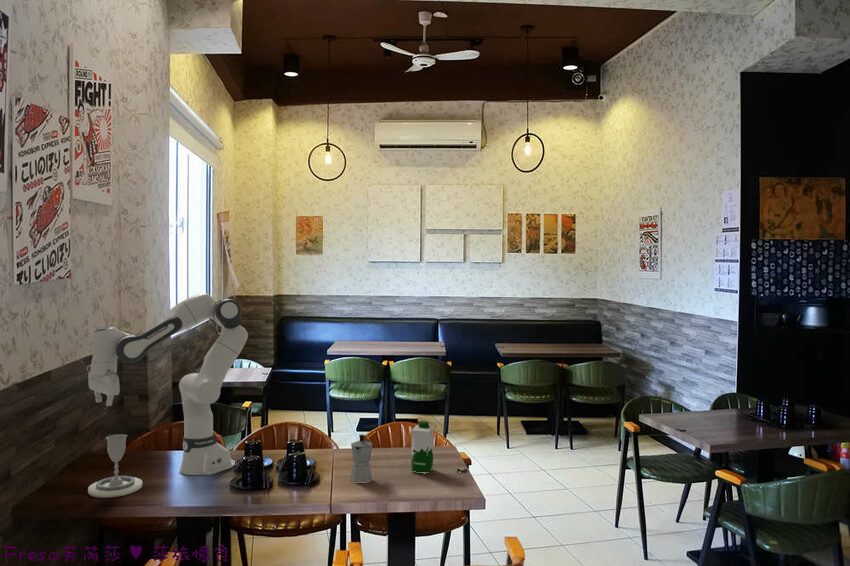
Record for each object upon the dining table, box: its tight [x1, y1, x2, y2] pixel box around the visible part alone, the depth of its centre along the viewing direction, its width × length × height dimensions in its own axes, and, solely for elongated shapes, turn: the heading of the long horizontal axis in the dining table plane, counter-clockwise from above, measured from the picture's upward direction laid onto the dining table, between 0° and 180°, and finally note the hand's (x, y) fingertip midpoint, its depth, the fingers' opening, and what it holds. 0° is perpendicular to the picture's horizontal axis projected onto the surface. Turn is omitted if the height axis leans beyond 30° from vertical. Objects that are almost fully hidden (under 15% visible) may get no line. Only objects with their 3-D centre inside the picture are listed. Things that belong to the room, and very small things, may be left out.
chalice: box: [105, 433, 128, 487], centre depth 228 cm, size 7×7×18 cm
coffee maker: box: [349, 434, 373, 483], centre depth 243 cm, size 15×9×18 cm, turn 168°
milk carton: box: [411, 420, 435, 472], centre depth 255 cm, size 9×9×20 cm
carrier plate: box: [87, 475, 143, 499], centre depth 228 cm, size 18×18×3 cm
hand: (103, 403), depth 239 cm, fingers open, 8 cm apart
